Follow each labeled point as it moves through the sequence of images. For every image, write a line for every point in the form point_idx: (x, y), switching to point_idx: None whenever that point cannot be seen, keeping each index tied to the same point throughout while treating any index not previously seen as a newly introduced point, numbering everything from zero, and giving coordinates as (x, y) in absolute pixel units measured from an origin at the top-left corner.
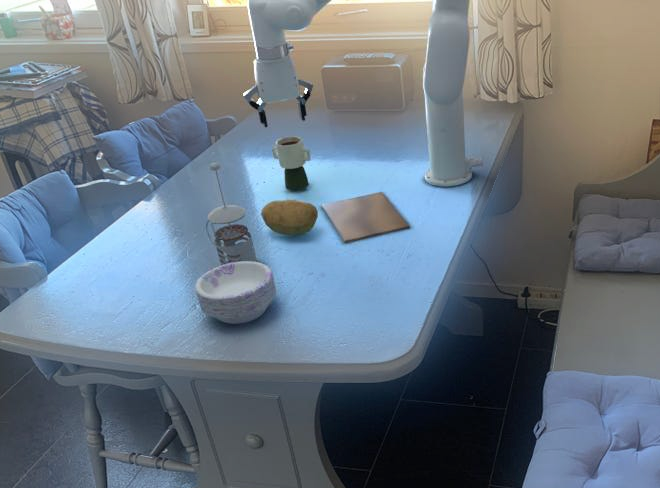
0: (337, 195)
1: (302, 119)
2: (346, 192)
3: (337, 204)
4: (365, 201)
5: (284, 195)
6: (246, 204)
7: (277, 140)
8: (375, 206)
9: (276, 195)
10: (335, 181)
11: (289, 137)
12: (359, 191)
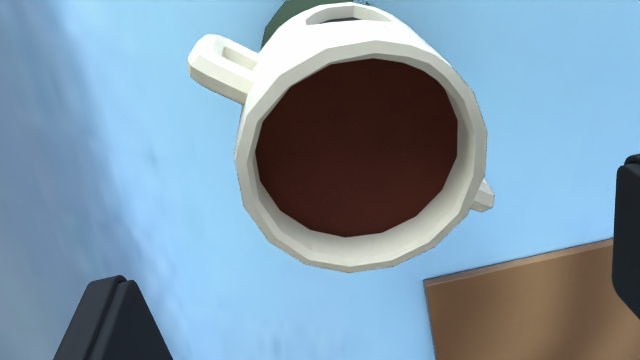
0: (504, 190)
1: (623, 298)
2: (550, 169)
3: (487, 295)
4: (596, 295)
5: None
6: (70, 179)
7: (252, 125)
8: (615, 338)
9: (213, 114)
10: (532, 20)
11: (371, 56)
12: (606, 174)
